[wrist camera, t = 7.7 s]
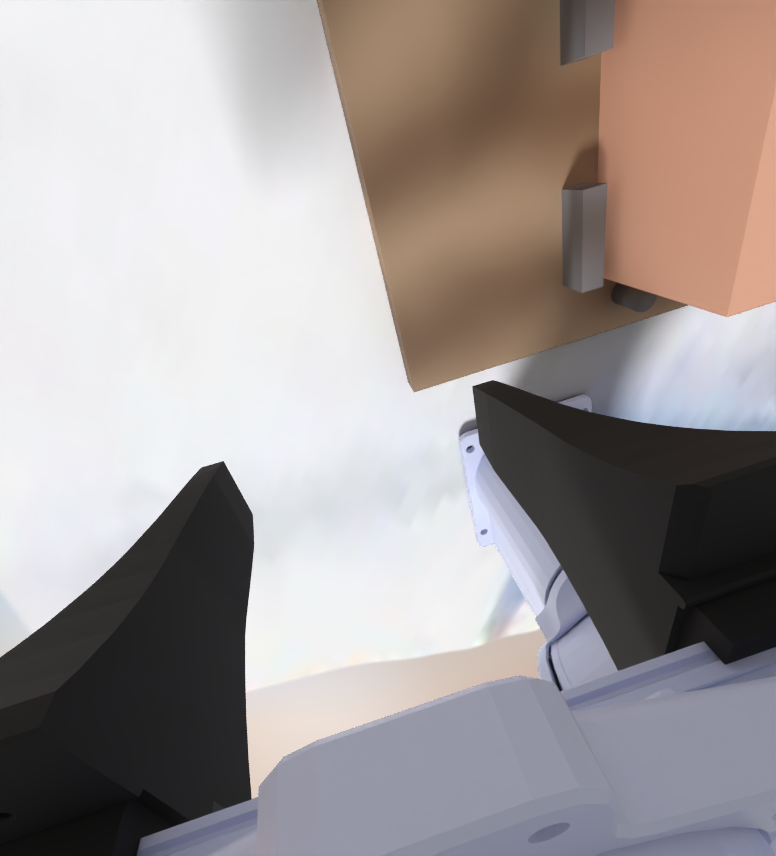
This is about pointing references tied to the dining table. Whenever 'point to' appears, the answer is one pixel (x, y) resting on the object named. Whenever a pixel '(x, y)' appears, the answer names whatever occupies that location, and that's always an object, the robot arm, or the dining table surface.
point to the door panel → (691, 151)
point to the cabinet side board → (482, 174)
